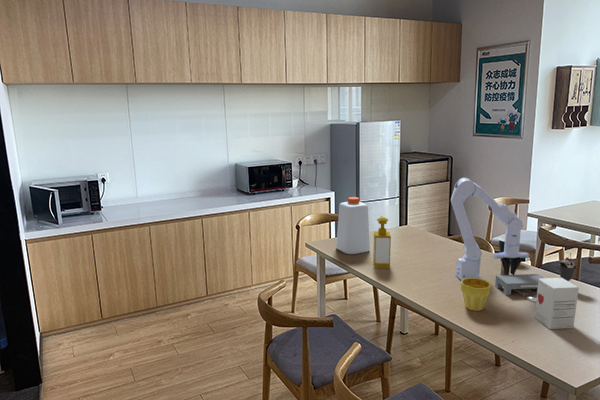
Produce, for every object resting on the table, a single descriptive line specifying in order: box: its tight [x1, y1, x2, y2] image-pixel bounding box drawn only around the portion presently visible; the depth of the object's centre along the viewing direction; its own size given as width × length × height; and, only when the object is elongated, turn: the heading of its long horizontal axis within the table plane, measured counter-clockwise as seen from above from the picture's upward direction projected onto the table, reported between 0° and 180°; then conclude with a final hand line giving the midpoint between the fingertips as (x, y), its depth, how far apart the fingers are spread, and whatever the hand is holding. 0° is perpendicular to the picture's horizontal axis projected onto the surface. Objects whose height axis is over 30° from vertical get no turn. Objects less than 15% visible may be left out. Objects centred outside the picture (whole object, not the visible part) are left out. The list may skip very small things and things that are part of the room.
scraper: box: [500, 263, 537, 298], centre depth 188 cm, size 6×22×7 cm, turn 3°
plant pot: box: [460, 278, 492, 312], centre depth 168 cm, size 10×10×10 cm
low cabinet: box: [494, 273, 545, 296], centre depth 183 cm, size 18×10×5 cm, turn 93°
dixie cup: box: [498, 236, 511, 262], centre depth 218 cm, size 8×8×11 cm
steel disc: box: [526, 295, 537, 303], centre depth 176 cm, size 5×5×1 cm
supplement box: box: [534, 277, 580, 330], centre depth 155 cm, size 9×9×15 cm
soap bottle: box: [372, 215, 392, 269], centre depth 215 cm, size 7×13×24 cm, turn 174°
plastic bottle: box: [335, 196, 371, 255], centre depth 235 cm, size 15×15×28 cm
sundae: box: [557, 252, 578, 282], centre depth 184 cm, size 7×7×15 cm
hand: (509, 274), depth 194 cm, fingers open, 2 cm apart
